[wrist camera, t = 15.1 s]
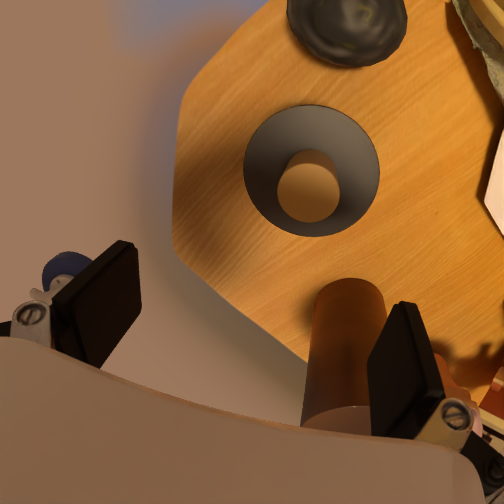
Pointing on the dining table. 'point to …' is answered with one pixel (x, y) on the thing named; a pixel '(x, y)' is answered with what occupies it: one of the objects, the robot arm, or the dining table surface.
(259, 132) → the lid
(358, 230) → the dining table surface
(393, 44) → the decorative stone
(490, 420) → the toy character
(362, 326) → the cylinder
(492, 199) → the plate
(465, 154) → the dining table surface
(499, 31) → the sculpture
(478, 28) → the rock
